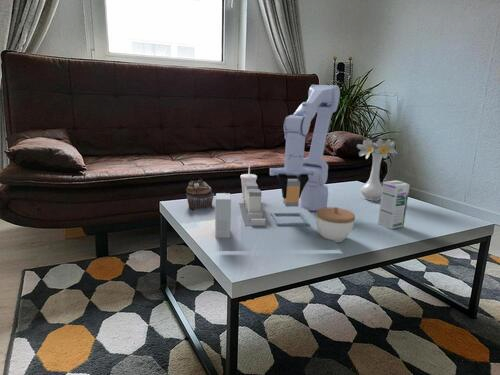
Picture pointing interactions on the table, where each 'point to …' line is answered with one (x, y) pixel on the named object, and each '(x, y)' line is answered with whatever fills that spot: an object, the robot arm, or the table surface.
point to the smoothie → (247, 180)
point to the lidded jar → (334, 223)
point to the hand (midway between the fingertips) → (291, 197)
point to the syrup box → (393, 204)
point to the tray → (290, 223)
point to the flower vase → (375, 166)
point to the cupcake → (199, 195)
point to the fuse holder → (253, 216)
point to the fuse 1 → (249, 186)
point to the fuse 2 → (254, 199)
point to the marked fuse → (292, 193)
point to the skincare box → (222, 215)
